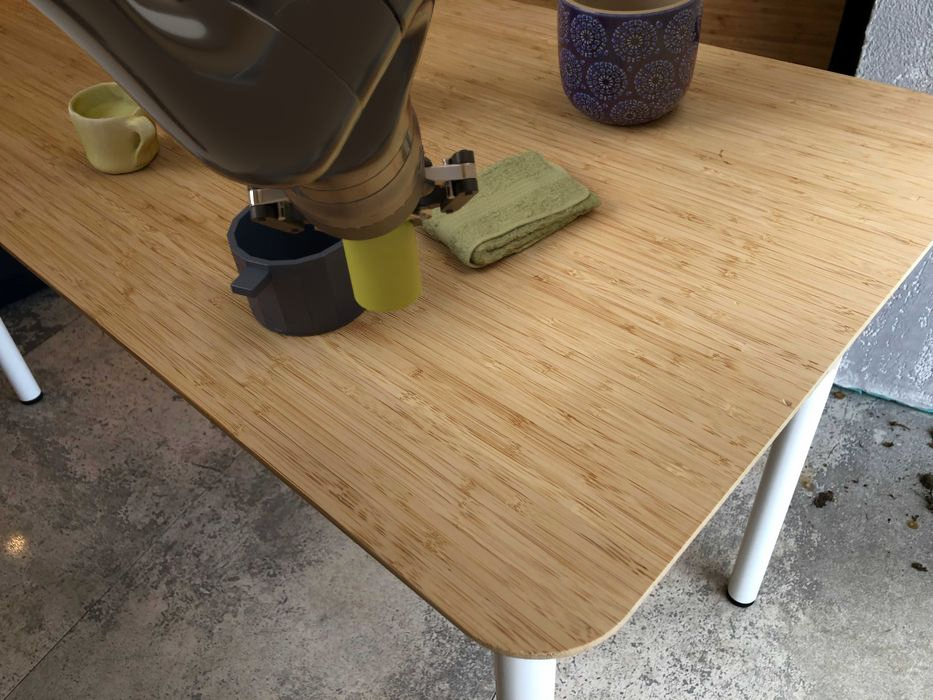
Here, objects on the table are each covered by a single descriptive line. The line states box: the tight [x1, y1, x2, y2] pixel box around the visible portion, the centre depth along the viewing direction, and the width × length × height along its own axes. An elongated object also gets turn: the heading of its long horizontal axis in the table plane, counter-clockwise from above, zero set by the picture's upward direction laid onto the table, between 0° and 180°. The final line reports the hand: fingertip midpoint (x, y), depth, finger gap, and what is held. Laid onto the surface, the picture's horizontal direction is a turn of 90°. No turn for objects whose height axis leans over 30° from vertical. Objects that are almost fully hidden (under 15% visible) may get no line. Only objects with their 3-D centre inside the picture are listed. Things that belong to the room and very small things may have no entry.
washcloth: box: [418, 151, 602, 269], centre depth 90 cm, size 13×18×3 cm
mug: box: [67, 81, 160, 175], centre depth 104 cm, size 12×10×10 cm
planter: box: [556, 0, 705, 126], centre depth 101 cm, size 17×17×15 cm
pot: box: [226, 204, 367, 337], centre depth 81 cm, size 12×18×8 cm
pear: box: [342, 219, 423, 313], centre depth 58 cm, size 5×5×10 cm
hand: (376, 216), depth 60 cm, fingers closed on pear, 5 cm apart
